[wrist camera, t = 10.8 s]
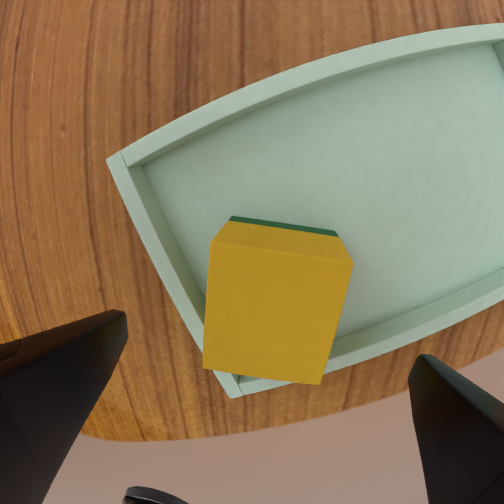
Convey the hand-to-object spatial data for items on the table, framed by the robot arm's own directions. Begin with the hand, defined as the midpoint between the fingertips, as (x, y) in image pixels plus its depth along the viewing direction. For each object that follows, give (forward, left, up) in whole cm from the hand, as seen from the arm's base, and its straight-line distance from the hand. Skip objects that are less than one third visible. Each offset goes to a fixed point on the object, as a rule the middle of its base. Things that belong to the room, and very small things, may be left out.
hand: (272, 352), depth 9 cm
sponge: (0, 0, -6) cm, 6 cm away
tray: (+4, -4, -6) cm, 8 cm away
